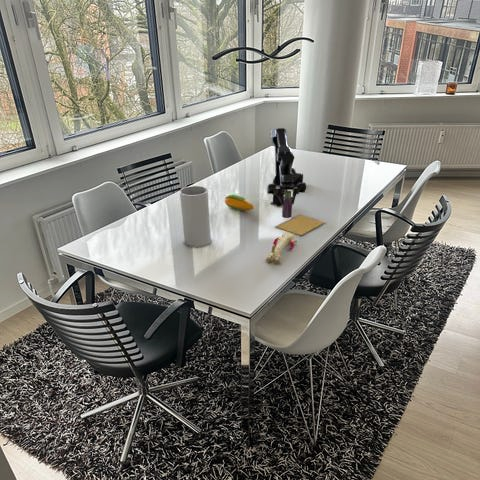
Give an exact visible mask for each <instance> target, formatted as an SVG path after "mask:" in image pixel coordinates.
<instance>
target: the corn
mask: <svg viewBox="0 0 480 480" xmlns="http://www.w3.org/2000/svg"><path fill="white" fill-rule="evenodd" d="M224 203H225V205H226V206H227V207H229V208H230V209H233V210H237V211H240V212H242V211H252V210H254V208H255V206H254V205H253V204H252V203H251V202H249V201H248V200H246V198H245V197H244V196H240V195H238V194H229V195H227V196H226V197H225V199H224Z"/></svg>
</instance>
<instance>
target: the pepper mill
mask: <svg viewBox="0 0 480 480" xmlns="http://www.w3.org/2000/svg"><path fill="white" fill-rule="evenodd" d="M292 203H293V197H292V190H288V191H285V194H284V197H283V205H281V206H282V207H281V209H282V210H281V217H282V218H284V219H292V218H293V204H292Z"/></svg>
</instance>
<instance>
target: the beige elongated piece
mask: <svg viewBox="0 0 480 480" xmlns="http://www.w3.org/2000/svg"><path fill="white" fill-rule="evenodd" d="M295 235H296V234H294V233H291V232H288V231H287V232H283V233H282V235H281V236H278V237H276V238H275V239H274V240H273V242H272V247H271V252H270V253H269V254H268V255H267V257H266V259H265V261H266V262H267V263H271V262H272V260H273V263H274V264H275V265H278V264H279V263H280V260H281V258H282V256H281V254H282V252H283V250H284V249H285V247H286V246H287V245H289V246H290V247H289V251H291V250H293V249H294V248H295V246H296V244H295V243H298V239H296V238H295ZM278 241H279V242H278Z"/></svg>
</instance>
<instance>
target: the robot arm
mask: <svg viewBox="0 0 480 480" xmlns="http://www.w3.org/2000/svg"><path fill="white" fill-rule="evenodd" d="M287 138H288V129H286V128H284V127H277V128H275V129H271V131H270V139H271V143H272V145H273V147H274V169H275V170H274V174H275V175H274V177H273V179H272V183H268V184H267V187H266V193H267V195H272V201H271V202H270V204H271V205H274V206H276V207H281V206H283V197H284V196H285V191H292V193H291V197H293V203H292V206H294V205H295V200H296V197H297V195H299V194H300V193H301V194H302V193H303V194H304V193H306V190H307V187H308V186H307V183H306V182H304V181H303V183H298V185H293V186H292V184H293V180H297V173H298V172H296V173H293V175H292V173H291V168H293V164H294V161H295V155H294V154H293V152H292V150H291V147H289V146H288V142H287Z"/></svg>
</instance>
